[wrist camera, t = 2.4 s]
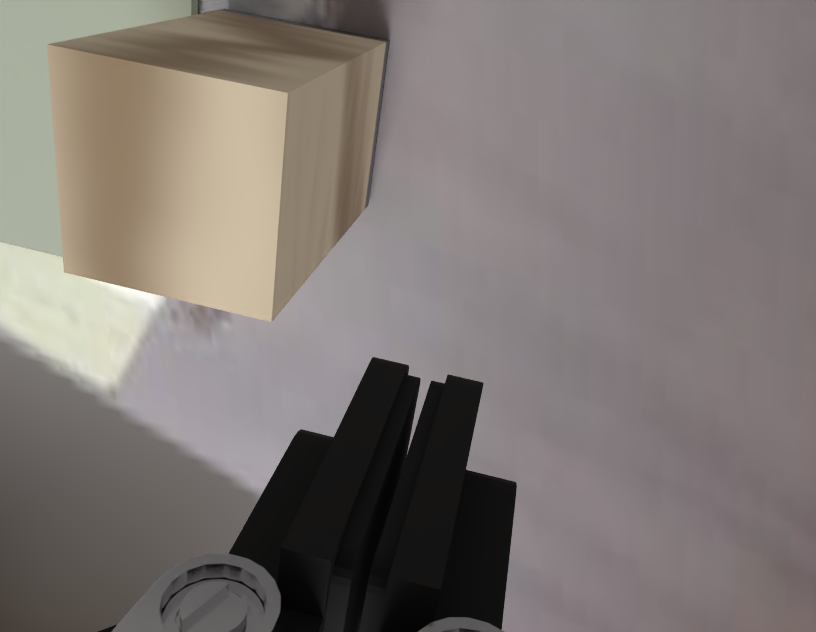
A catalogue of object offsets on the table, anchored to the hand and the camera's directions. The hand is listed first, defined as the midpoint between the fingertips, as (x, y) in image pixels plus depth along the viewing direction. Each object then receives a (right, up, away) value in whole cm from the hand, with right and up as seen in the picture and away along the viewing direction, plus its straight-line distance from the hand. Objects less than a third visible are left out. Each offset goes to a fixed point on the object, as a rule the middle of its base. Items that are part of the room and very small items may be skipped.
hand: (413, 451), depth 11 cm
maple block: (-4, +10, +16) cm, 19 cm away
